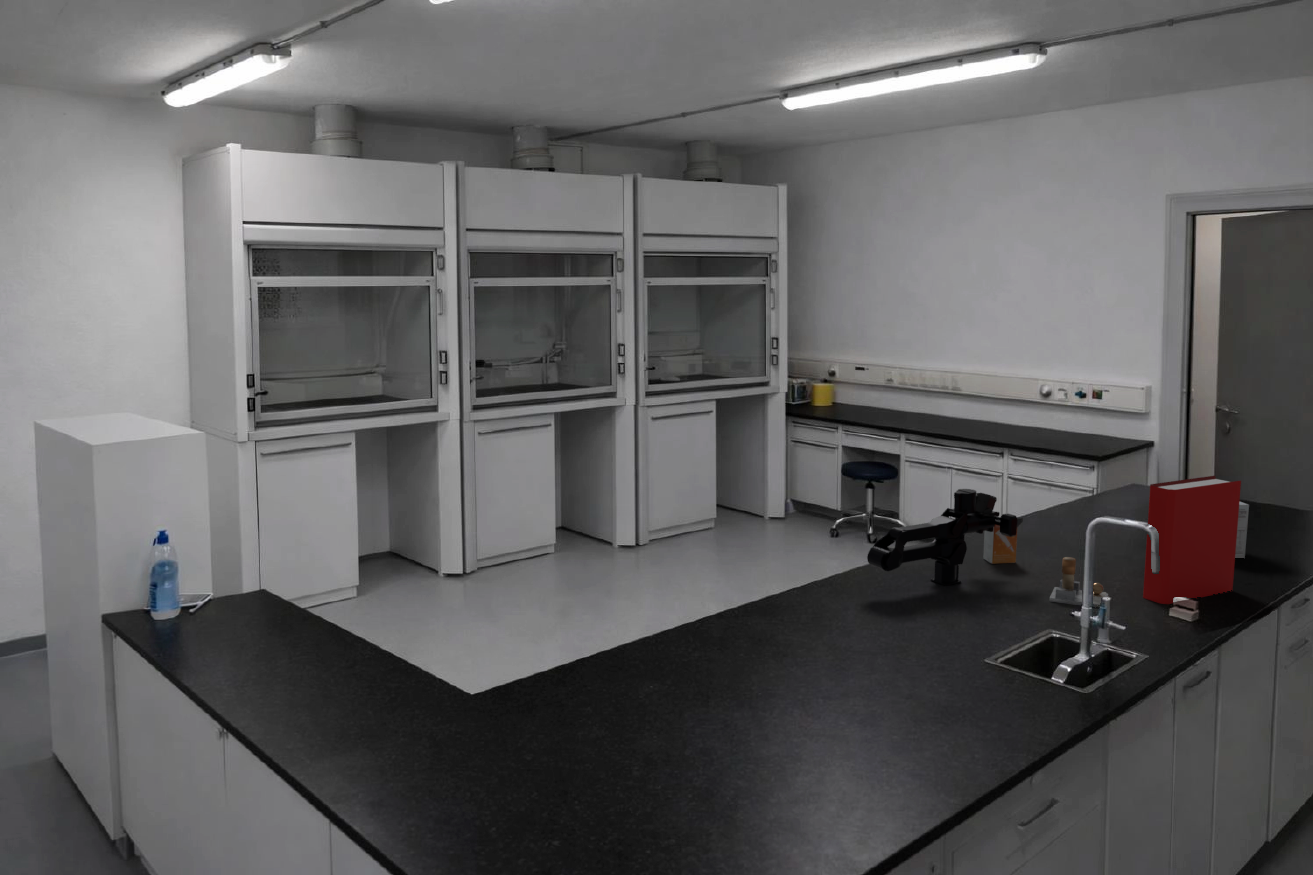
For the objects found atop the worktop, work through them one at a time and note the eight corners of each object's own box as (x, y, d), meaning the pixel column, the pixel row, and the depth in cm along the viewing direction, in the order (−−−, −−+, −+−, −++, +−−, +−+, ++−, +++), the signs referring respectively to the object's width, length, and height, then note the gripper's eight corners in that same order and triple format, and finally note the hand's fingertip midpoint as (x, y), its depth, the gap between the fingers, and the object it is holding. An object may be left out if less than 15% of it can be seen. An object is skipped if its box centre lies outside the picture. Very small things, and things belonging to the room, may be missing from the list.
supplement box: (1246, 559, 316) (1250, 504, 313) (1203, 559, 317) (1207, 505, 314) (1223, 547, 329) (1227, 495, 327) (1182, 548, 330) (1186, 495, 327)
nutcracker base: (1049, 601, 278) (1050, 582, 278) (1054, 590, 288) (1055, 572, 287) (1104, 608, 272) (1105, 589, 271) (1107, 597, 281) (1109, 578, 280)
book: (1206, 583, 292) (1215, 475, 287) (1232, 590, 285) (1241, 480, 280) (1139, 596, 281) (1146, 484, 276) (1164, 604, 274) (1172, 490, 269)
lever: (1059, 595, 279) (1061, 560, 278) (1062, 588, 285) (1064, 555, 283) (1072, 596, 277) (1074, 562, 276) (1075, 590, 283) (1077, 556, 281)
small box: (992, 564, 314) (993, 523, 312) (982, 558, 321) (984, 519, 319) (1016, 563, 316) (1018, 522, 313) (1006, 557, 322) (1008, 517, 320)
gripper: (997, 502, 290) (1036, 496, 297) (950, 491, 306) (988, 485, 313) (995, 540, 292) (1034, 533, 299) (949, 526, 308) (987, 520, 315)
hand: (1010, 516), depth 306 cm, fingers open, 9 cm apart
